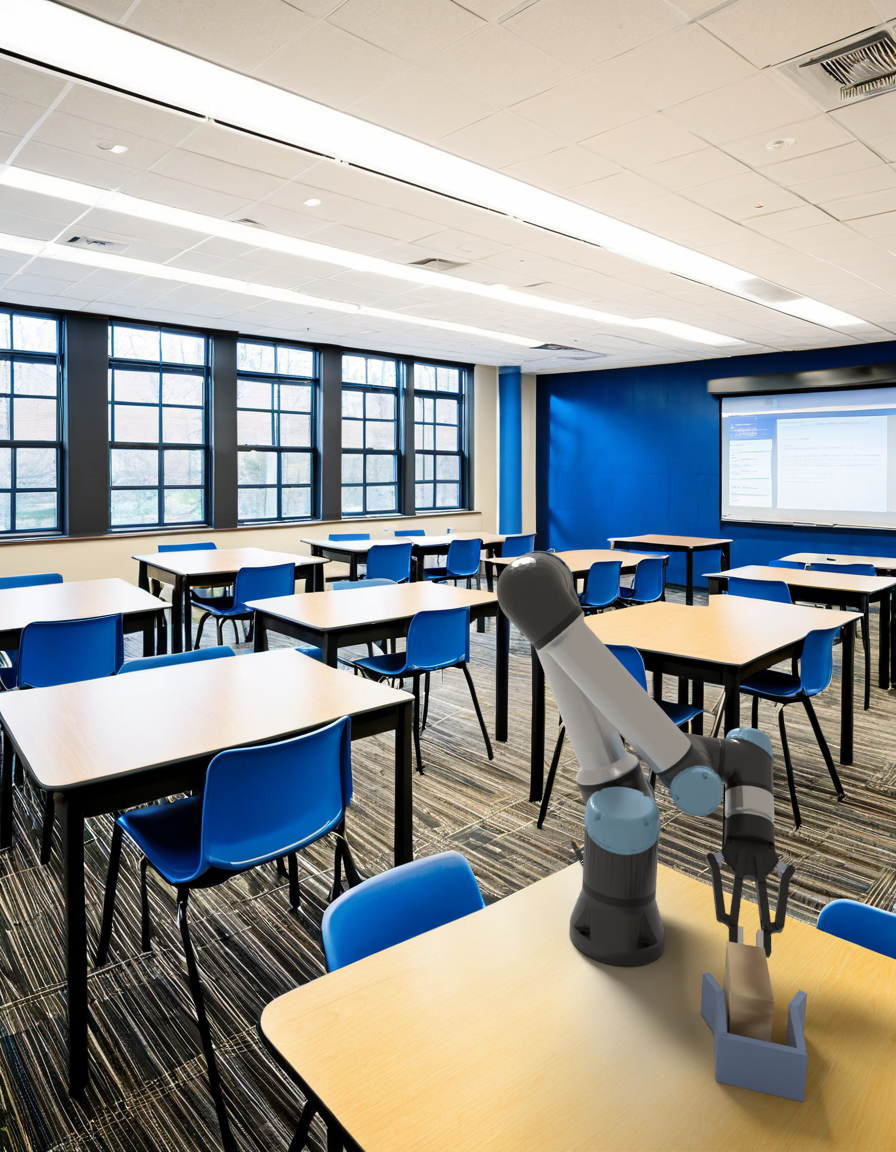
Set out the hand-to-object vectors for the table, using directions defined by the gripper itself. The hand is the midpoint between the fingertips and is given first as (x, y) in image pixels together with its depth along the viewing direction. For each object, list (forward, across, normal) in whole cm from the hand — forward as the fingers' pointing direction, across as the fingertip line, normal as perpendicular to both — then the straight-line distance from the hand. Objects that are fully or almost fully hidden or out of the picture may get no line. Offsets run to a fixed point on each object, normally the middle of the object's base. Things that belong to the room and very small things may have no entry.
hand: (749, 977), depth 111 cm
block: (+8, +1, +3) cm, 8 cm away
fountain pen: (-21, +29, -26) cm, 45 cm away
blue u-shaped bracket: (+11, 0, +6) cm, 12 cm away
